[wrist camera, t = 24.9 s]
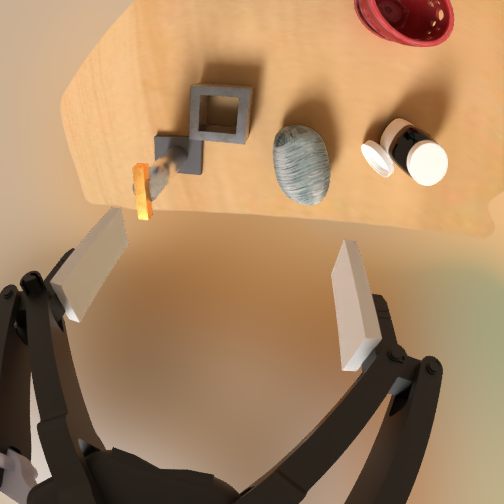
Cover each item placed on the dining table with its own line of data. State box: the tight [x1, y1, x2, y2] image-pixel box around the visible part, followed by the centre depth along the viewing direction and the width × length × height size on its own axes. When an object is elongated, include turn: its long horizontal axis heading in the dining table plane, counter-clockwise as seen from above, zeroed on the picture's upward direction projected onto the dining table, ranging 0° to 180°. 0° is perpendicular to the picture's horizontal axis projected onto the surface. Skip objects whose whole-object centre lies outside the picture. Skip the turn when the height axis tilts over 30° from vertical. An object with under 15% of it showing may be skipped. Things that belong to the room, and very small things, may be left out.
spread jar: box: [361, 118, 448, 186], centre depth 38 cm, size 12×11×12 cm
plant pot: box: [354, 0, 454, 47], centre depth 23 cm, size 13×13×12 cm
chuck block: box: [189, 83, 254, 144], centre depth 40 cm, size 9×9×5 cm
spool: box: [273, 125, 330, 205], centre depth 44 cm, size 14×10×10 cm
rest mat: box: [154, 135, 203, 175], centre depth 48 cm, size 7×9×1 cm
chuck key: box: [133, 146, 188, 220], centre depth 41 cm, size 4×8×16 cm, turn 174°
